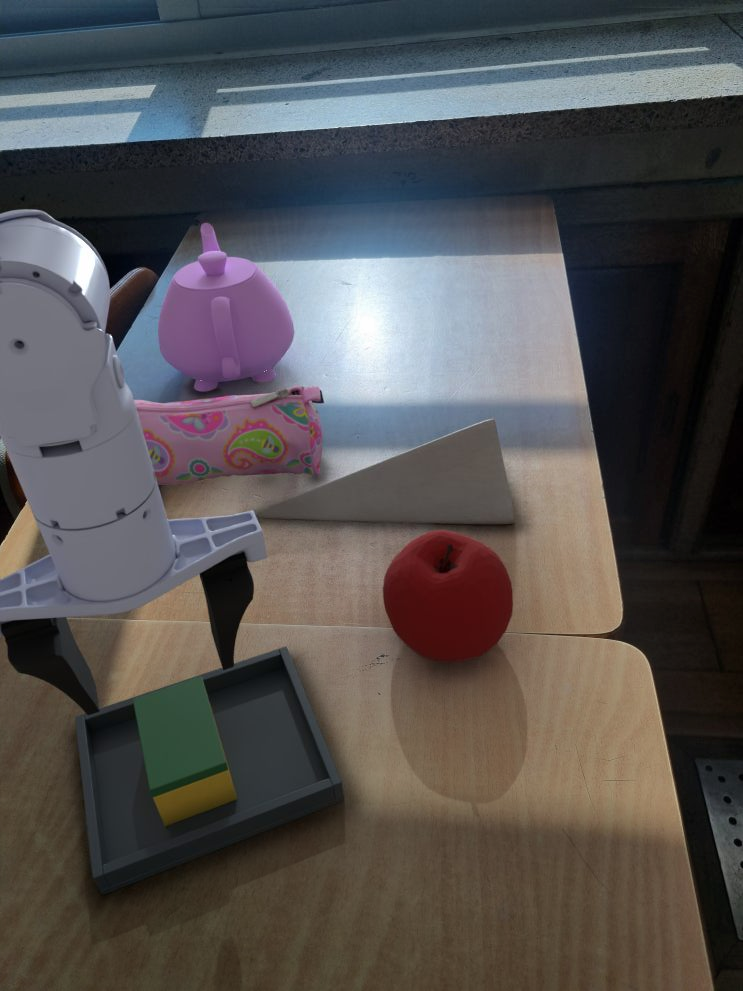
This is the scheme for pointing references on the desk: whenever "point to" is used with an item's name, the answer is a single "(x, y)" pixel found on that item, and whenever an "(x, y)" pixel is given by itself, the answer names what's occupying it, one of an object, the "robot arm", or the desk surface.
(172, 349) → the teapot
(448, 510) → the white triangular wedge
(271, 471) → the pencil case
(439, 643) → the apple
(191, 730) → the sponge
